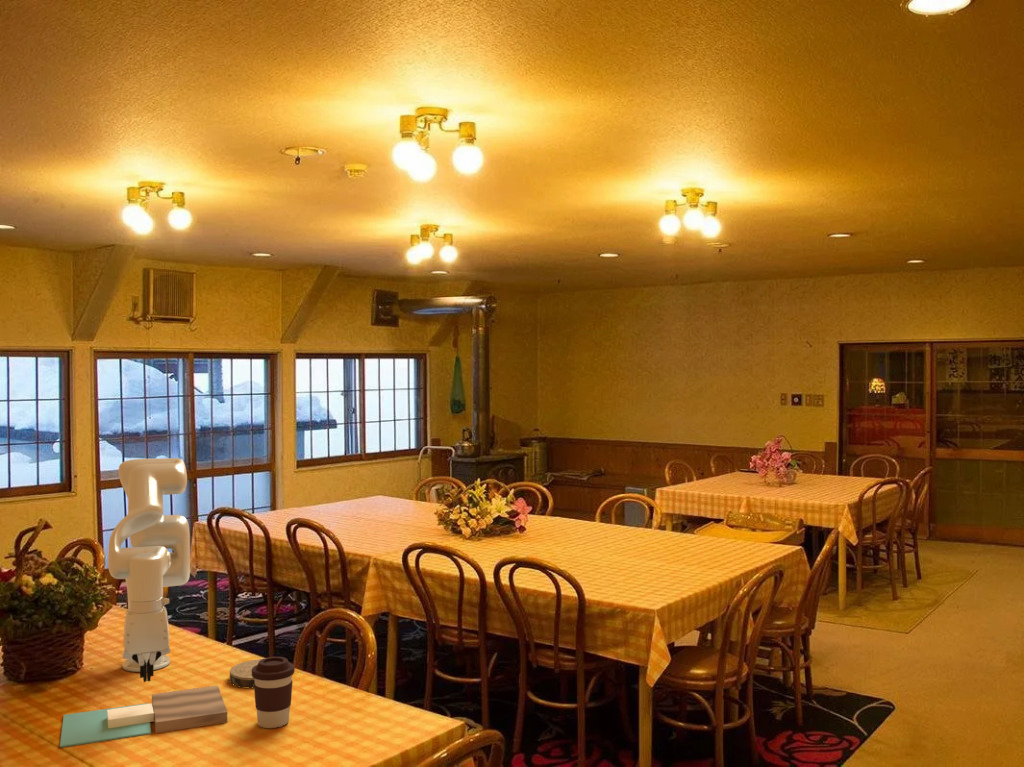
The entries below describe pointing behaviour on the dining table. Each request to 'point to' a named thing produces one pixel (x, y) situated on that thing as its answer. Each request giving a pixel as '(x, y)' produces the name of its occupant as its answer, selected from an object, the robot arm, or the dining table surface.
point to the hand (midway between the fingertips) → (146, 679)
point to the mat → (96, 728)
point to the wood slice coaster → (243, 674)
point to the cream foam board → (130, 715)
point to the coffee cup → (273, 691)
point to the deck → (188, 708)
